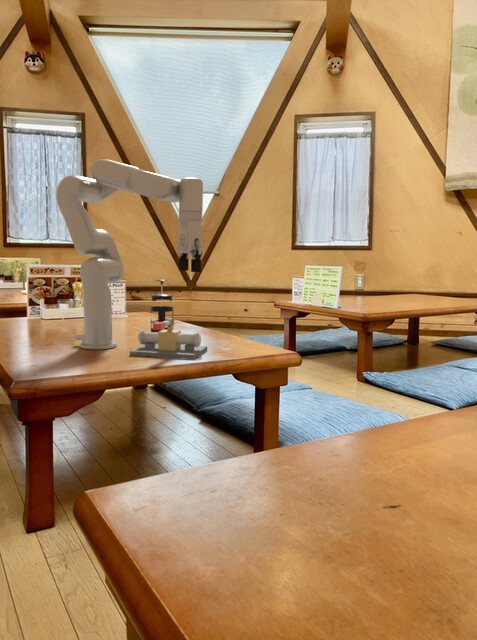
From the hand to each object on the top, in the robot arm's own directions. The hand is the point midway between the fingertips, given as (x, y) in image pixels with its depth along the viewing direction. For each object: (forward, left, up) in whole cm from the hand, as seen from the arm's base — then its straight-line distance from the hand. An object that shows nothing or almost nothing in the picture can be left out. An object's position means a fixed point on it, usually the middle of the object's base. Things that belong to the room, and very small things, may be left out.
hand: (189, 271), depth 171 cm
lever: (-7, -4, -18) cm, 20 cm away
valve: (-7, +2, -28) cm, 29 cm away
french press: (-21, +33, -28) cm, 48 cm away
